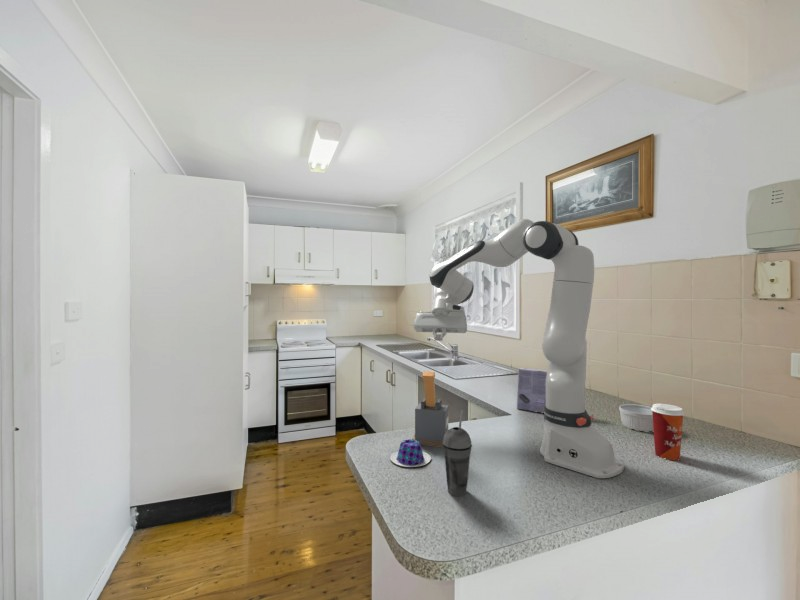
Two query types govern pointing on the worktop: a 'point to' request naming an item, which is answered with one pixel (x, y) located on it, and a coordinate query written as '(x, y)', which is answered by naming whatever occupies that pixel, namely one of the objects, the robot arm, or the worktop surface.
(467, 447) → the beverage cup
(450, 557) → the worktop surface
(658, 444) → the coffee cup
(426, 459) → the pudding
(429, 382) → the lever
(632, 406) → the ramekin
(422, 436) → the box
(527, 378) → the cake pan box
